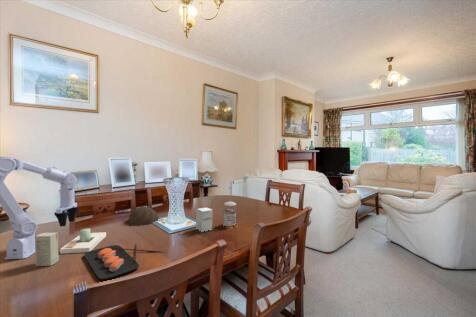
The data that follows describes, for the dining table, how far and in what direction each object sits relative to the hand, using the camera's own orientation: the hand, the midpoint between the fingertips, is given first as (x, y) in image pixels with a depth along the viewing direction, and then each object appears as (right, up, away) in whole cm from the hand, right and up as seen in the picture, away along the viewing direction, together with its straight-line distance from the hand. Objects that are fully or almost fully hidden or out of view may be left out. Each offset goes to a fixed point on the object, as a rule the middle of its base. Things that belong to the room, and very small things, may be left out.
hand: (67, 223), depth 115 cm
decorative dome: (+24, -9, +36) cm, 44 cm away
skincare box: (+9, -10, -22) cm, 26 cm away
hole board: (+11, -9, -3) cm, 15 cm away
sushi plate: (+39, -11, -14) cm, 43 cm away
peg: (+11, -9, -3) cm, 15 cm away
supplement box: (+66, -10, +22) cm, 71 cm away
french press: (+81, -10, +32) cm, 87 cm away
